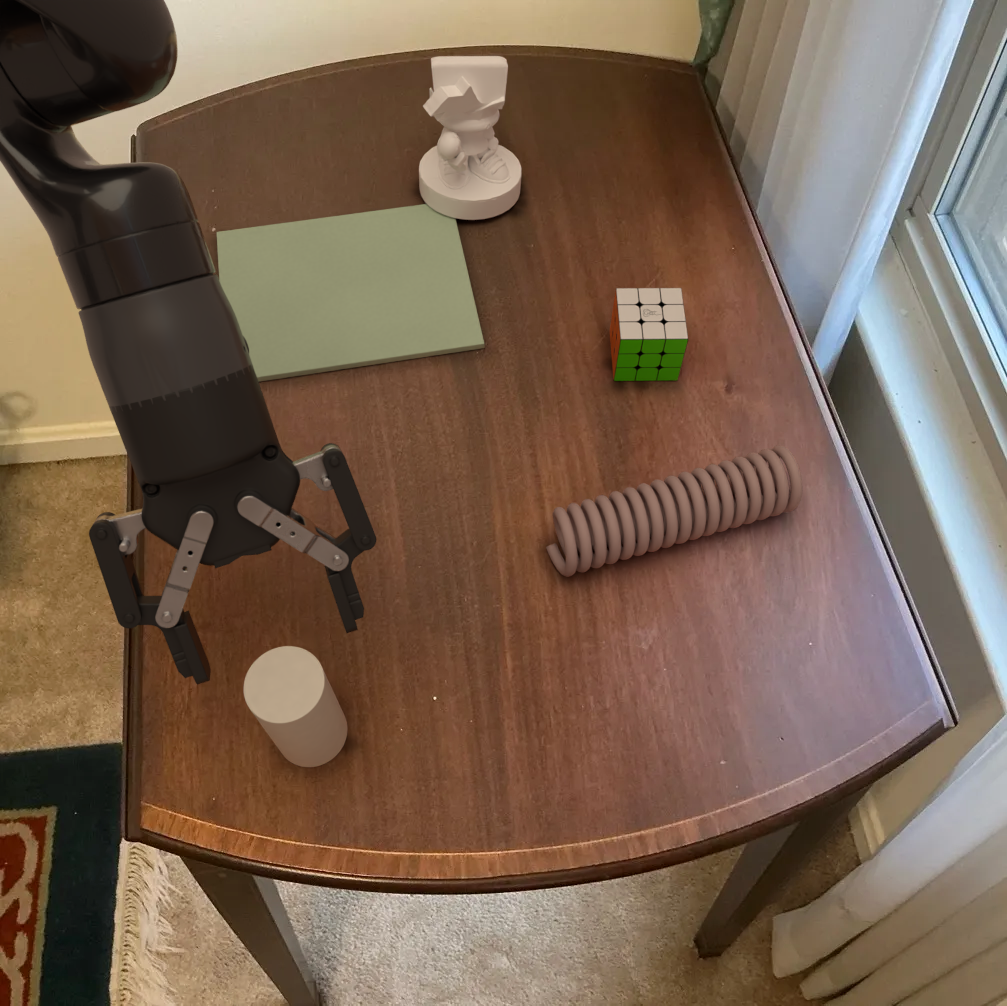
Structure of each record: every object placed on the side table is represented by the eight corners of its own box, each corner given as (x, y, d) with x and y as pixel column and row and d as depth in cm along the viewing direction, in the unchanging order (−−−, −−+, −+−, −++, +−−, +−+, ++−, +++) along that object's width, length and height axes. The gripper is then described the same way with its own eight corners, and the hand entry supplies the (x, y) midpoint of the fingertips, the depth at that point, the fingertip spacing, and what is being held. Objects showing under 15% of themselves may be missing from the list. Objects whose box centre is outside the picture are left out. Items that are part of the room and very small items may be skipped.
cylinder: (279, 773, 59) (245, 730, 51) (274, 704, 61) (241, 653, 53) (351, 760, 59) (328, 715, 51) (343, 692, 61) (320, 639, 54)
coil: (787, 429, 66) (539, 497, 64) (820, 480, 64) (563, 554, 61) (773, 470, 70) (539, 536, 67) (804, 520, 67) (561, 591, 65)
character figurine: (421, 221, 81) (418, 89, 71) (416, 151, 86) (412, 20, 76) (525, 218, 82) (536, 88, 72) (513, 149, 87) (522, 19, 77)
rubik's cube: (677, 381, 74) (688, 339, 70) (612, 381, 74) (619, 339, 70) (672, 330, 76) (682, 287, 72) (609, 330, 76) (615, 287, 72)
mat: (226, 386, 74) (224, 382, 73) (218, 236, 81) (216, 231, 81) (484, 348, 75) (484, 343, 75) (451, 205, 83) (451, 200, 83)
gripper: (24, 429, 45) (147, 725, 50) (317, 344, 48) (409, 633, 52) (54, 408, 52) (160, 669, 57) (307, 335, 55) (389, 591, 60)
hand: (279, 652), depth 55 cm, fingers open, 8 cm apart
